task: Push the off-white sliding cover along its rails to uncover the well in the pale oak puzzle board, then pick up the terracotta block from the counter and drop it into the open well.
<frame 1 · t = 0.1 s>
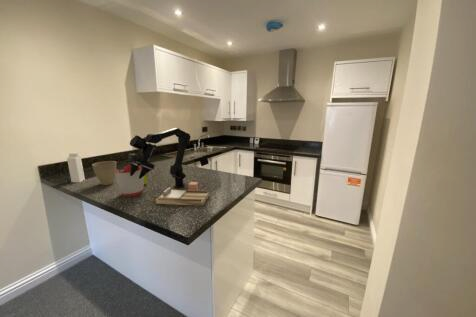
hand: (135, 177, 114), 15 cm above the counter, tool tilted 30°, fingers open, 9 cm apart
plant pot: (107, 183, 147), on the counter
citrus juicer: (131, 193, 128), on the counter
puzzle board: (183, 199, 119), on the counter
puzzle toy: (137, 184, 147), on the counter
milk: (78, 181, 152), on the counter
slide cover: (173, 192, 118), point 4 cm above the counter, slide at 0.0 cm
block: (193, 191, 131), on the counter
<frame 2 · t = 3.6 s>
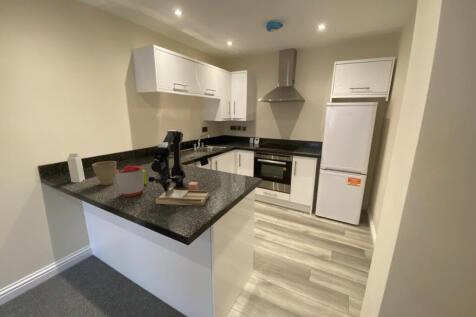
hand: (166, 192, 119), 5 cm above the counter, tool pointing down, fingers closed
slide cover: (176, 192, 118), point 4 cm above the counter, slide at 1.4 cm, touching gripper
everything else where it was.
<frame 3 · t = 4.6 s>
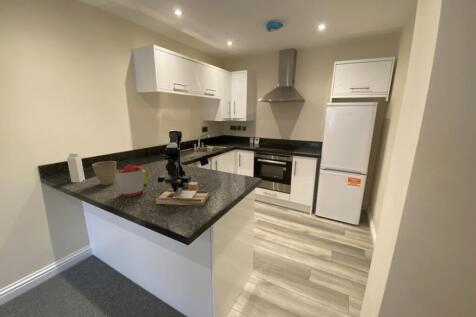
hand: (175, 192, 118), 5 cm above the counter, tool pointing down, fingers closed
slide cover: (185, 193, 118), point 4 cm above the counter, slide at 7.2 cm, touching gripper
everything else where it was.
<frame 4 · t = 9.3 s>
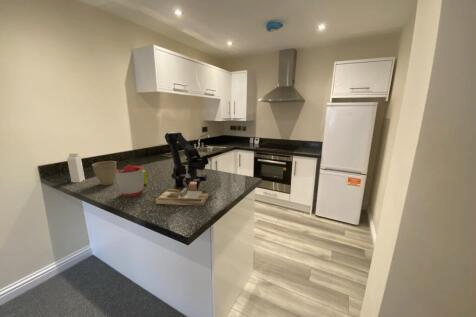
hand: (193, 189, 131), 1 cm above the counter, tool pointing down, fingers closed on block, 5 cm apart
slide cover: (190, 193, 117), point 4 cm above the counter, slide at 10.6 cm
block: (193, 191, 131), on the counter, touching gripper
everything else where it was.
when the fingers open (4 cm above the counter, at t = 13.5 s): block drops 3 cm, resting in puzzle board.
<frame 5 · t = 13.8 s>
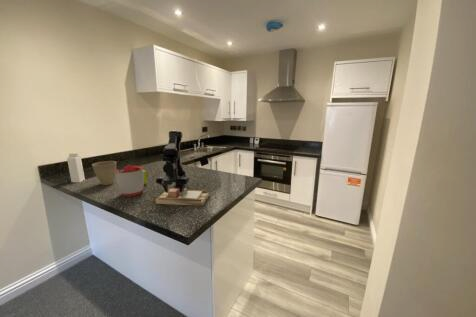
hand: (173, 193, 119), 4 cm above the counter, tool pointing down, fingers open, 8 cm apart
slide cover: (190, 193, 117), point 4 cm above the counter, slide at 10.6 cm, touching gripper
block: (174, 199, 119), resting in puzzle board
everything else where it was.
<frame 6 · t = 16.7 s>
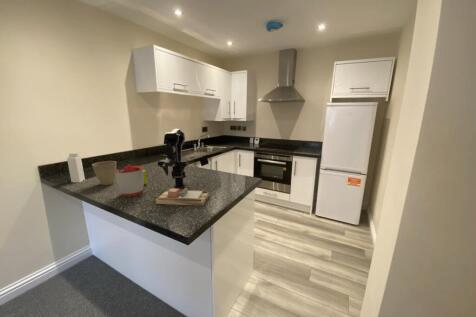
hand: (174, 175, 126), 12 cm above the counter, tool pointing down, fingers open, 9 cm apart
slide cover: (191, 193, 117), point 4 cm above the counter, slide at 10.9 cm
everything else where it was.
at the end: slide cover slide at 10.9 cm; block 0.1 cm from the target spot on the puzzle board, point 0.0 cm above the puzzle board's base; block tilted 0° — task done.
